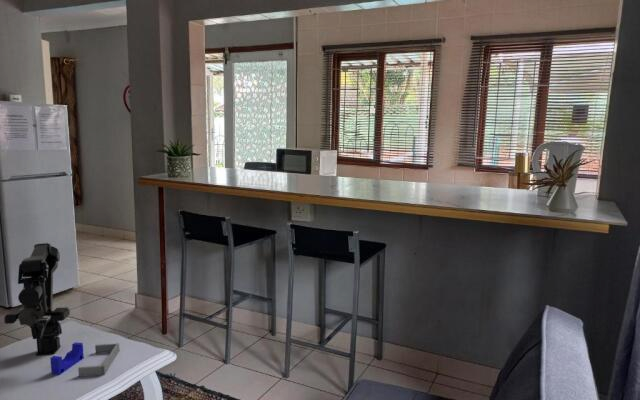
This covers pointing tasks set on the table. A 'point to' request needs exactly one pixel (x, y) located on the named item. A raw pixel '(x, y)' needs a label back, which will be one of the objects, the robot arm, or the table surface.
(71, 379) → the table surface
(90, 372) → the grey u-shaped bracket
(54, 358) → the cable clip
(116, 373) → the table surface
